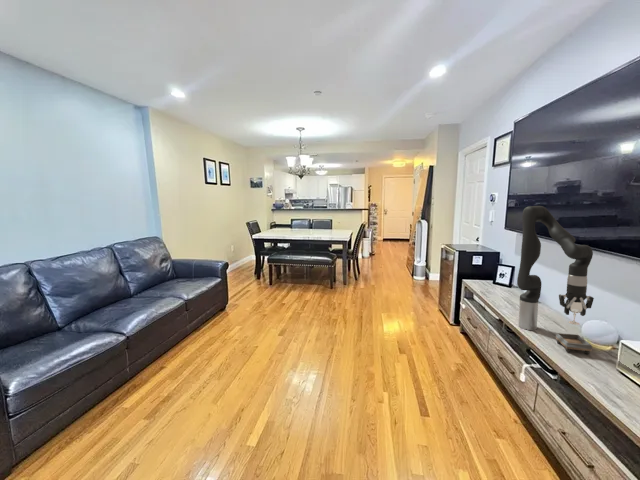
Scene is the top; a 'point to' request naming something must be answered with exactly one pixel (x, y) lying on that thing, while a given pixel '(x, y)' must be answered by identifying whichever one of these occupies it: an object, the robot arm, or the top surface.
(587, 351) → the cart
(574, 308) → the wineglass
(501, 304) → the top surface
